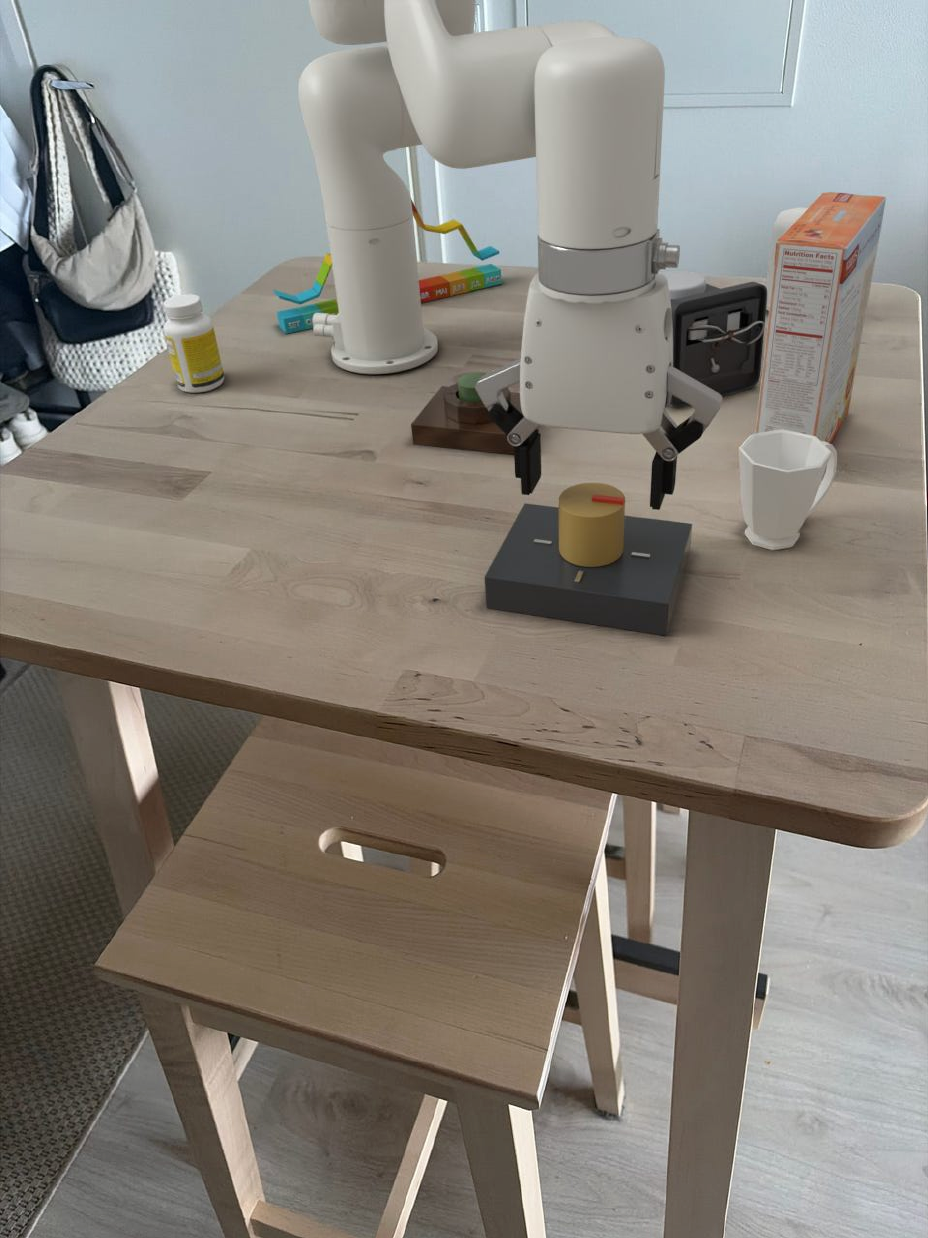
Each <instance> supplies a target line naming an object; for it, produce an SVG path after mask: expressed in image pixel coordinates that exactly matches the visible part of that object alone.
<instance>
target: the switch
mask: <svg viewBox="0 0 928 1238" xmlns="http://www.w3.org/2000/svg"><path fill="white" fill-rule="evenodd" d="M487 373H488V372H480V371H477V372H469V373H466V374H463V375H461V376H460V377H459V378H458V379H457V383H458V392H459V399H460V400H463V401H466V402H482V400H481V398H480V397H479V395H478V393H477V391H476V389H475V385H476V383H477V382H478V381H479V379H480V378H481V377H482V376H483V375H485V374H487Z"/></svg>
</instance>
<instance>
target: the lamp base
mask: <svg viewBox="0 0 928 1238" xmlns="http://www.w3.org/2000/svg"><path fill="white" fill-rule="evenodd" d="M502 392H503V394H504V397H505V399H507V400H508V401H509V402H510V403H511V404H512V405H513V406H514V407H515V408H516V409H517V410H518V411H519V412H520V413H521V414H523V413H522V410H521V403H520V392H515V391H511V390H510V389H509V387H507V388H504V389H502ZM410 427H411V436H412V437H411V438H412V444H413V445H419V446H427V447H428V446H429V447H437V448H438V447H439V448H446V449H447V448H448V449H456V450H465V451H474V452H483V453H494V454H502V455H511V456H512V455H513V456H514V446H512V445H511V444H510V443H509V442H508V440H507V435H506V434H505V433H504V432H503V431H502V430H501V429H500V428H499V427H498V426H497V425H496V424H495V423H494V422H493V421H492V420H491V419H490V417H489V411H488V409H487V407H485V405H484V404H483V402H466V401H463V400H460V399H459V392H458V382H456V383H454V384H451V385H449V386H447V385H441V386H440V388H439V389H438V390H437V391H436V392H435V394H434V395H433V396H432V397H431V399H429V401H428V402H427V404H426V405H425V406H424V408H423V409H422V410H421V411H420V413H418V415H417V416H416V417H415V419H414V420H413V421H412V422H411V423H410Z"/></svg>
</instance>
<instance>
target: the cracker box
mask: <svg viewBox="0 0 928 1238" xmlns="http://www.w3.org/2000/svg"><path fill="white" fill-rule="evenodd" d="M886 201H887V197H886V196H880V195H863V194H853V193H847V192H835V191H834V192H832V191H830V192H821V193H820V195H819V196H818V197H817V198H816V199H815V200H814V201H813V203H811V205H810V206H809V208H808V209H807V210H806V211H805V212H804V213H803V214H802V215H801V217H800V218H799V219H798V220H797V221H796V222H795V223H794V224H793V225H792V226H791V227H790V228H789V229H788V230H787V231H786V232H785V233H784V234H783V236H782V237H781V238H780V239H779V240H778V241H777V243H776V252H775V262H774V272H773V279H772V288H771V298H770V307H769V311H768V317H767V324H766V325H767V326H766V335H765V342H764V352H763V361H762V367H761V369H762V370H761V376H760V378H761V379H760V385H759V386H760V387H759V395H758V396H759V397H758V404H757V413H756V420H755V421H756V422H755V429H754V430H755V432H754V434H755V433H761V432H768V431H774V430H781V429H784V430H788V431H793V432H798V433H802V434H807V435H812V436H816V437H817V438H818V439H819V440H820V441H825V442H827V443H829V444H831V445H832V442H833V440H834V438H835V437H836V435H837V434H838V431H839V430H840V428H841V426H842V425H843V422H844V421H845V419H846V417H847V416H848V414H849V410H850V406H851V405H850V404H851V400H852V393H853V388H854V382H855V378H856V377H855V376H856V371H857V365H858V360H859V353H860V349H861V342H862V338H863V337H862V336H863V330H864V325H865V319H866V314H867V309H868V302H869V297H870V291H871V286H872V281H873V275H874V270H875V264H876V258H877V253H878V246H879V241H880V236H881V231H882V225H883V218H884V212H885V207H886Z"/></svg>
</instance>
